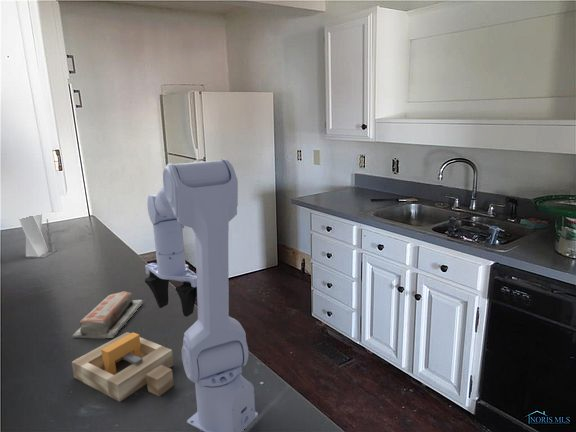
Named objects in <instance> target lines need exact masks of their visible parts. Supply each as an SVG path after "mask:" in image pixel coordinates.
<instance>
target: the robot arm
mask: <svg viewBox="0 0 576 432" xmlns="http://www.w3.org/2000/svg"><path fill="white" fill-rule="evenodd" d="M162 182H163V184H162V186H161V188H160V190H159V191H158V193H157V194H148V197H147V202H146V203H147V206H146V207H147V212H148V216H149V220H150V222H151V224H152V228H153V235H154V236H153V237H154V246H155V247H154V248H155V254H156V256H155V258H156V263H155V262H151V263H148V264H146V265H145V266H144V268H145V274H146V275H149V276H148V277H146V278H144V283H146V285H147V286H148V287H149V289H150V290H151V292H152V294H153V297H154V298H155V302H156V304H157V306H158V308H159V309H162V308H164V307H166V306H167V305H169V283H170V281H177V282H181V283H182V284H181V285H178V286H176V287H175V291H176V293H177V294H178V297H179V299H180V304H181V309H182V313H183V316H184V317H186V318H187V317H189V316H190V315H193V313H194V310H195V305H196V300H197V319H196V321H195V322H194V323H193V324H192V325H191V326H190V327H189V328H188V329H187V330H186V331H184V333H183V339H182V341H183V342H182V347H181V360H182V365H183V369H184V372H185V375H186V376H187V379H188V380H189V381H191V382H192V383H194V386H195V397H196V398H195V399H196V408H197V411H196V412H195V413H194V414H193V415H192V416H191V417H189V418H188V419H187V420H186V423H187V424H188V425H191V426H193V427H194V428H197V429H198V430H200V431H203V432H242V431H243V432H244V431H245V430H246V429H247V428H248V427H249V426H250V425H251V424H252V423H253V422H254V421H255V420H254V419H255V418H256V419H257V418H258V417H259V413H258V411H256V403H255V387H254V385H253V382H251V381H249V380H248V379H246V378H245V377H244V376H243V375H242V373H243V371H242V370H243V368H242V367H245V366H246V365H247V363H248V360H249V347H248V342H247V337H246V336H247V335H246V334H247V333H246V331H245V329H244V328H243V326H242V324H241V323H240V322H239V321H238V320H237V319H235V318H233V317H231V316H230V315H229V314H230V313H229V311H230V309H229V303H230V302H229V287H230V285H229V284H230V283H229V230H230V229H229V228H230V227H229V226H230V225H229V224H230V221H232V220H233V219H234V218H235V217H236V216H237V214H238V204H239V203H238V199H239V197H238V194H239V193H238V192H239V191H238V187H239V186H238V185H239V183H238V182H239V181H238V177H237V174H236V171H235V167H234V166H233V165H232V163H231V162H230V161H229V160H228V159H226V158H221V159H219V160H209V161H208V160H207V161H198V162H197V161H196V162H187V163H185V162H184V163H173V162H172V163H167V164H166V165H165V167H164V169H163V172H162ZM185 227H188V228H191V229H192V232H193V233H194V239H195V241H194V242H195V267H196V268H195V269H196V271H195V272H196V273H195V272H194V271H192V270H191V269H189V264H186V253H185V242H184V231H183V230H184V229H185ZM253 420H254V421H253ZM251 422H252V423H251ZM250 423H251V424H250ZM249 424H250V425H249ZM248 425H249V426H248ZM247 426H248V427H247ZM245 428H246V429H245ZM244 429H245V430H244Z"/></svg>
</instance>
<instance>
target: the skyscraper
mask: <svg viewBox="0 0 576 432" xmlns="http://www.w3.org/2000/svg"><path fill="white" fill-rule="evenodd" d="M18 220H19V222H20V225H21V227H22V230H23V232H24V235H25V258H26V259H28V258H31V259H45V258H47V257H48V256H51V255H52V254H54V253H56V252H57V250H55V241H54V239H53V232H52V230H51V227H50V223H49V220H48V218H46V227H47V230H46V235H47V238H48V240H47V241H48V242H46V241H45V238H44V236H43V233H42V224H43V213H42V214H41V215H36V216H29V217H26V218H22V219H19V218H18ZM47 243H48V246H49V248H48V246H47Z"/></svg>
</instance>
